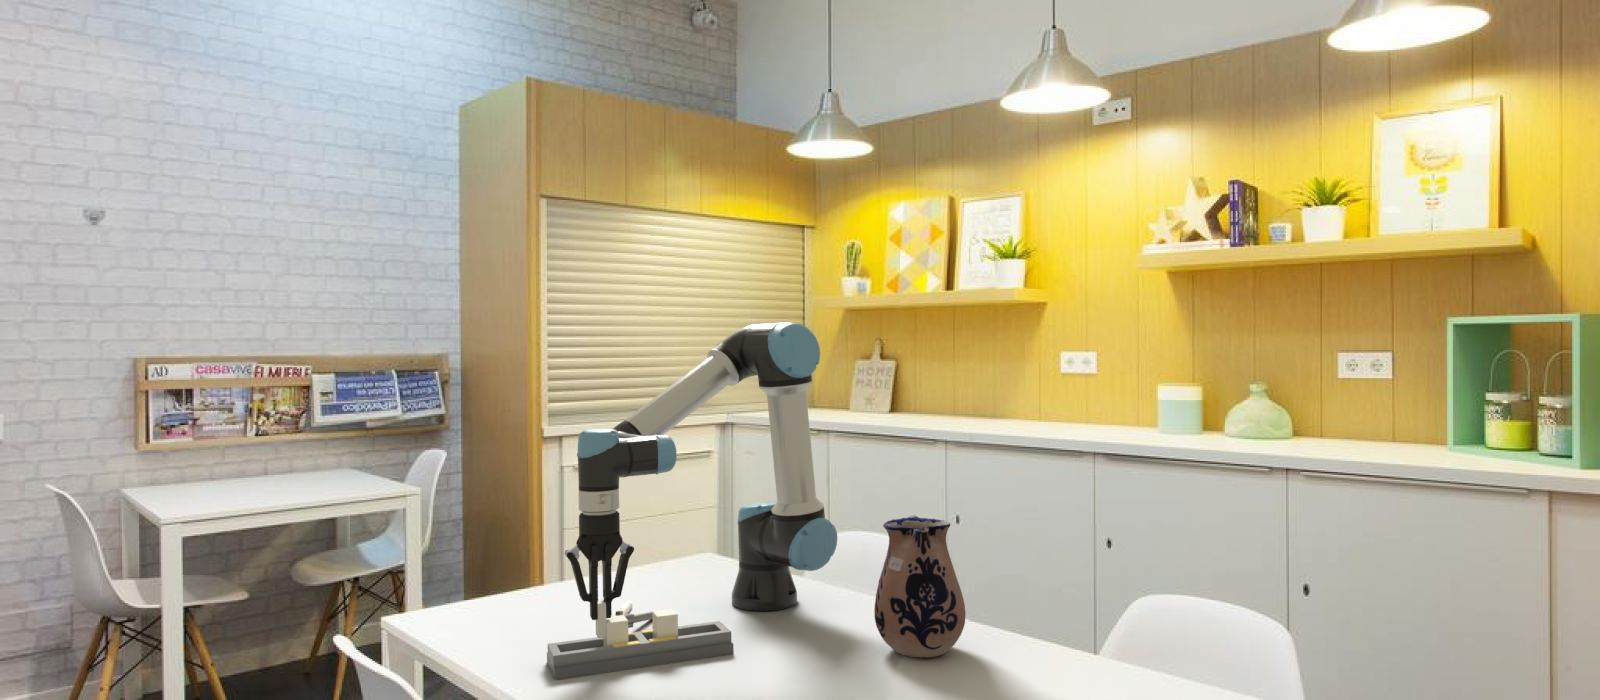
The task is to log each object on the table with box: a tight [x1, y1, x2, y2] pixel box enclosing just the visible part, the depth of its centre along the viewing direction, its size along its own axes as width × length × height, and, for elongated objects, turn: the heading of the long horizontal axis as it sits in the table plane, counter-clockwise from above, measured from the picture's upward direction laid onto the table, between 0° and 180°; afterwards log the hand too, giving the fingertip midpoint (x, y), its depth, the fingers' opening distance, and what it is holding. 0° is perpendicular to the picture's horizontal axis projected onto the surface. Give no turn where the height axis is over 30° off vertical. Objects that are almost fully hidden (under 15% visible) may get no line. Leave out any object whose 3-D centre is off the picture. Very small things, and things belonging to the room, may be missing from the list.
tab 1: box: [603, 615, 629, 647], centre depth 181 cm, size 4×4×6 cm
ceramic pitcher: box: [874, 514, 966, 658], centre depth 187 cm, size 18×21×25 cm
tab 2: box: [651, 608, 679, 639], centre depth 185 cm, size 4×4×6 cm
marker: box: [613, 600, 633, 616], centre depth 210 cm, size 18×2×2 cm, turn 177°
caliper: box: [614, 610, 653, 629], centre depth 203 cm, size 20×1×6 cm, turn 162°
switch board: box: [546, 620, 735, 681], centre depth 183 cm, size 34×10×4 cm, turn 113°
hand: (601, 635), depth 180 cm, fingers closed
